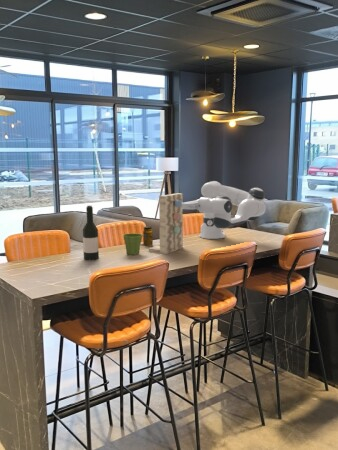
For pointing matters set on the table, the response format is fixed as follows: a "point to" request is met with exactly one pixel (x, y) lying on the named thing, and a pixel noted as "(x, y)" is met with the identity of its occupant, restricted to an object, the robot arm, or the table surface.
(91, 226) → the wine bottle
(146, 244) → the condiment
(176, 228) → the sage button
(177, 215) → the terracotta button
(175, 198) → the tall patterned box
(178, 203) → the slate button
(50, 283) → the table surface
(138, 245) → the plant pot
